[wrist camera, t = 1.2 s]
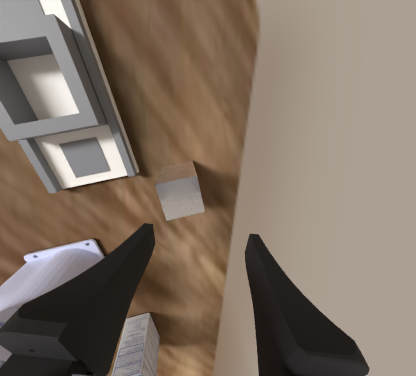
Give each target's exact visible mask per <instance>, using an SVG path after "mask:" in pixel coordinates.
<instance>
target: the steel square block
mask: <svg viewBox="0 0 416 376" xmlns="http://www.w3.org/2000/svg"><path fill="white" fill-rule="evenodd" d="M155 187H156V190H157V193H158V196H159V199H160V202H161V205H162V208H163V211H164V214H165V217H166V220H171V219H176V218H180V217H184V216H188V215H193V214H197V213H201V212H205V210H204V205H203V201H202V196H201V191H200V187H199V182H198V177H197V174H196V170H195V167H194V164H193V161H192V160H191V161H186V162H181V163H177V164H172V165H167V166H162V169H161V171H160V174H159V176H158V179H157V181H156V183H155Z"/></svg>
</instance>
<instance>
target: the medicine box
mask: <svg viewBox="0 0 416 376" xmlns="http://www.w3.org/2000/svg"><path fill="white" fill-rule="evenodd" d="M159 338H160V336H159V334H158V332H157V329H156V327H155V325H154V322H153V320H152V318H151V315H150V313H145V314H141V315H137V316H134V317H130V318H127V319H126V322H125V326H124V330H123V334H122V337H121V341H120V345H119V349H118V353H117V357H116V360H115V364H114V368H113V372H112V376H156V372H157V361H158V351H159Z"/></svg>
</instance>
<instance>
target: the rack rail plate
mask: <svg viewBox="0 0 416 376" xmlns="http://www.w3.org/2000/svg"><path fill="white" fill-rule="evenodd" d="M0 128H1V130H2V131H3V133H4V134H5V136H6V138H7V139H8V141H16V140H18V142H19V144H20V145H21V147H22V148H23V150H24V152H25V153H26V155H27V157H28V158H29V160H30V162H31V163H32V165H33V167H34V168H35V170H36V172H37V173H38V175H39V177H40V178H41V180H42V182H43V183H44V185H45V187H46V188H47V190H48V192H49V193H50V194H51V193H56V192H58V191H60V190H62V189H65V188H70V187H75V186H80V185H84V184H89V183H94V182H98V181H103V180H108V179H113V178H117V177H122V176H127V175H128V177H131V176H135V175H136V174H137V173H138V172H139V169H138V166H137V163H136V160H135V157H134V155H133V152H132V149H131V146H130V143H129V140H128V138H127V135H126V132H125V129H124V126H123V123H122V121H121V118H120V115H119V112H118V109H117V106H116V103H115V101H114V98H113V95H112V92H111V89H110V86H109V84H108V81H107V78H106V75H105V72H104V69H103V66H102V64H101V61H100V58H99V55H98V52H97V49H96V47H95V44H94V41H93V38H92V35H91V32H90V30H89V27H88V24H87V21H86V18H85V15H84V12H83V10H82V7H81V4H80V1H79V0H0Z"/></svg>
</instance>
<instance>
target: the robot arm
mask: <svg viewBox="0 0 416 376" xmlns="http://www.w3.org/2000/svg"><path fill="white" fill-rule="evenodd" d="M88 243H89V244H88ZM154 246H155V238H154V230H153V224H147V223H144V224H143V225H142V226H141V227H140V228H139V229H138V230H137V231H136V232H134V233H133V234H132V235H131V236H130V237H129V238H128V239H127V240H126V241H124V242H123V243H122V244H121V245H120V246H119V247H117V248H116V249H115V250H114V251H112V252H111V253H110V254H109V255H107V256H106V257H104V255H103V253H102V251H101V249H100V248H99V246H98V244H97V242H96V241H95V240H94V239H89V240H85V241H81V242H77V243H72V244H68V245H64V246H60V247H55V248H51V249H47V250H43V251H38V252H34V253H30V254H27V255H25V256H24V259H25V261H26V262H27V263H26V264H25V265H24V266H23V267H21V268H20V269H19V270H18V271H17V272H16V273H15V274H14V275H13V276H12V277H10V278H9V279H8V280H7V281H6V282H5V283H4V284H3V285H2V286H1V287H0V376H106V375H107V374H108V373H109V370H110V367H111V363H112V360H113V357H114V353H115V350H116V347H117V343H118V340H119V337H120V334H121V331H122V328H123V324H124V321H125V319H126V316H127V313H128V310H129V307H130V304H131V301H132V298H133V296H134V293H135V291H136V288H137V286H138V284H139V282H140V279H141V277H142V275H143V273H144V271H145V269H146V266H147V264H148V262H149V260H150V258H151V255H152V252H153V249H154ZM245 262H246V270H247V275H248V280H249V286H250V291H251V295H252V301H253V309H254V318H255V329H256V340H257V354H258V367H259V368H258V369H259V376H365V375H367V374H368V372H369V367H368V365H367V363H366V361H365V359H364V357H363V355H362V353H361V351H360V350H359V348H358V346H357V345H356V343H355V341H354V340H353V339H351V338H350V337H349V336H348V335H347V334H346V333H344V332H343V331H342V330H341V329H340V328H338V327H337V326H336V325H335V324H334V323H333V322H331V321H330V320H329V319H328V318H327V317H326V316H325V315H323V313H321V312H320V311H319V310H318V309H317V308H316V307H315V306H314V305H313V304H312V303H311V302H310V301H309V300H308V299H307V298H306V297H305V296H304V295H303V294H302V293H301V292H300V290H299V289H298V288H297V287H296V286H295V285H294V284H293V283H292V281H291V280H290V279H289V278H288V277H287V275H286V274H285V273H284V271H283V270H282V269H281V268H280V266H279V265H278V264H277V262H276V261H275V259H274V258H273V256H272V255H271V254H270V252H269V251H268V249H267V247H266V246H265V244H264V243H263V241H262V239H261V238H260V236H259V235H258V234H250V235H249V239H248V243H247V246H246V250H245Z"/></svg>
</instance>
